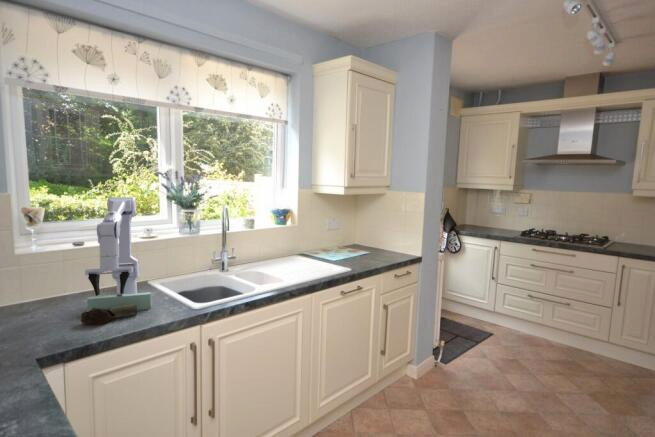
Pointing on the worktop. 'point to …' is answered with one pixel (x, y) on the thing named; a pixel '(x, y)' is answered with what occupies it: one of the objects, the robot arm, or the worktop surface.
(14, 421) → the worktop surface
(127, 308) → the dark brown elongated lump
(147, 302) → the block
